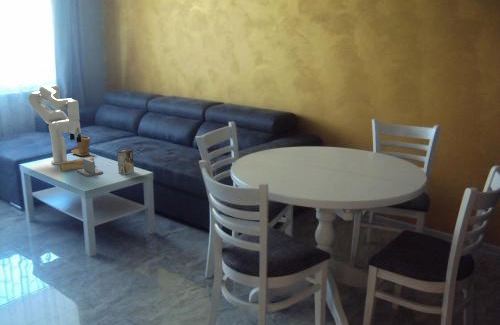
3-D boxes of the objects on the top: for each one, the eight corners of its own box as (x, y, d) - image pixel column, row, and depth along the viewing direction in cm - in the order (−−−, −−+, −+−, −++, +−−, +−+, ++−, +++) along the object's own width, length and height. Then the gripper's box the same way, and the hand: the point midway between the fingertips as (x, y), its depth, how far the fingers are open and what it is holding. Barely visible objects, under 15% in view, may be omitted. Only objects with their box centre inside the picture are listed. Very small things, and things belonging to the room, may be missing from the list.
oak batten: (60, 170, 341) (60, 162, 339) (91, 164, 357) (91, 156, 356) (63, 172, 338) (62, 164, 336) (94, 165, 354) (94, 157, 353)
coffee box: (127, 170, 343) (126, 148, 339) (134, 171, 340) (133, 150, 336) (118, 173, 336) (116, 151, 331) (124, 175, 333) (123, 152, 328)
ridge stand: (76, 172, 337) (75, 159, 335) (91, 168, 346) (90, 156, 343) (87, 177, 327) (86, 163, 324) (103, 173, 335) (102, 160, 332)
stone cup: (94, 154, 382) (92, 136, 378) (80, 157, 374) (78, 139, 370) (84, 151, 392) (83, 133, 388) (70, 153, 384) (69, 135, 379)
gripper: (63, 116, 340) (65, 139, 345) (74, 120, 329) (76, 144, 333) (73, 115, 345) (75, 138, 350) (84, 118, 334) (86, 142, 339)
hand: (75, 141), depth 342 cm, fingers open, 9 cm apart
